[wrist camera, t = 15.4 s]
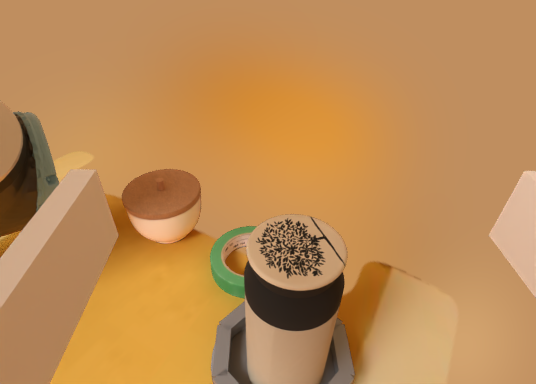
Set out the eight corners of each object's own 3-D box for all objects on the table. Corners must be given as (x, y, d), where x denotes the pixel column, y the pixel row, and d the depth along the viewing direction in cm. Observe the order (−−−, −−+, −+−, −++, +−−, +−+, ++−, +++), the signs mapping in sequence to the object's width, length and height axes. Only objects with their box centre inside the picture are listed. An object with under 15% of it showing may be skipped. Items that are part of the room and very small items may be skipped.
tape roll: (263, 228, 54) (263, 215, 53) (307, 275, 47) (309, 261, 46) (198, 257, 49) (196, 244, 48) (236, 314, 42) (236, 301, 41)
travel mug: (255, 415, 33) (254, 299, 22) (241, 338, 39) (235, 218, 28) (334, 396, 34) (370, 279, 23) (309, 325, 40) (328, 205, 29)
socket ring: (183, 360, 37) (179, 349, 36) (277, 280, 46) (278, 268, 44) (287, 485, 29) (288, 477, 28) (378, 359, 38) (383, 347, 36)
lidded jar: (183, 199, 59) (175, 152, 54) (218, 232, 53) (214, 182, 47) (122, 226, 54) (106, 177, 48) (154, 267, 47) (139, 216, 42)
